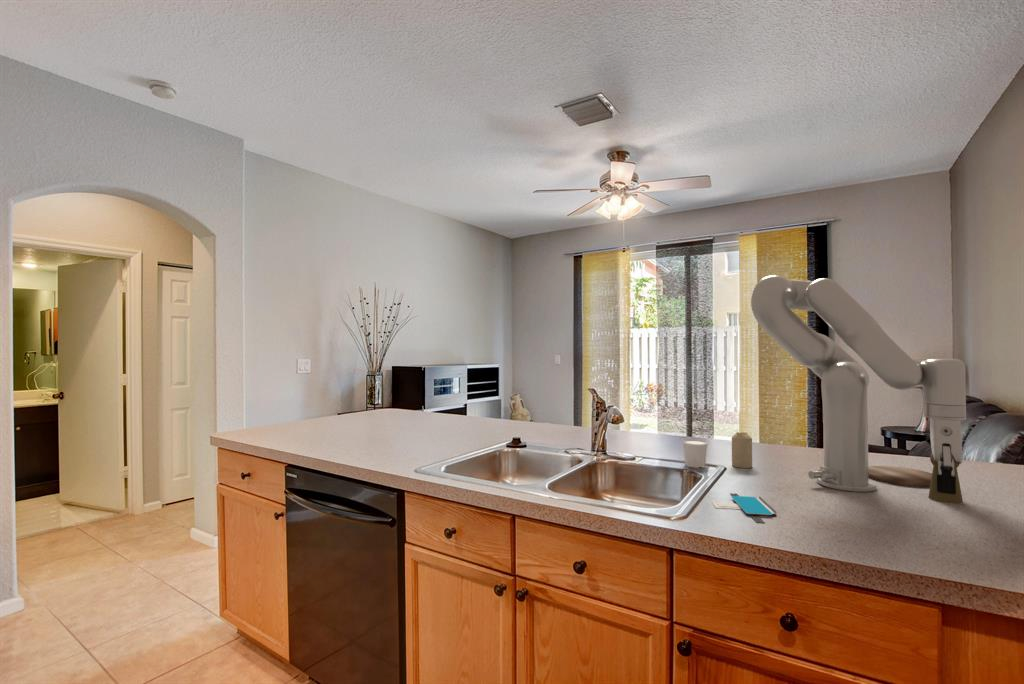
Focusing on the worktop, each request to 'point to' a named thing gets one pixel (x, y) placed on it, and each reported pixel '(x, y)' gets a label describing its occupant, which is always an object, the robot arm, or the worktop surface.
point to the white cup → (695, 453)
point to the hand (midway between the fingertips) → (945, 489)
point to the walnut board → (900, 476)
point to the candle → (741, 450)
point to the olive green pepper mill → (944, 496)
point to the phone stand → (749, 506)
